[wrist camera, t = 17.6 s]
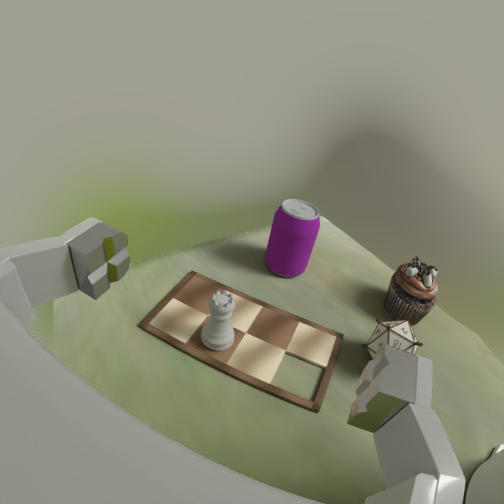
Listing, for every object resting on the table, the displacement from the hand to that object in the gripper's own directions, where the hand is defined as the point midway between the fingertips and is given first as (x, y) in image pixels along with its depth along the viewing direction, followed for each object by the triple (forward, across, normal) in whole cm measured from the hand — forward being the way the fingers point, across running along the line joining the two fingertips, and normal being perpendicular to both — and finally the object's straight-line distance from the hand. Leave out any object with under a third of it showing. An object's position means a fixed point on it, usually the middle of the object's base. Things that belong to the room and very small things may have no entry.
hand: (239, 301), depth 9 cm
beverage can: (+39, +5, +28) cm, 49 cm away
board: (+21, +5, +28) cm, 35 cm away
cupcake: (+40, -18, +28) cm, 52 cm away
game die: (+26, -15, +28) cm, 41 cm away
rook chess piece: (+18, +8, +28) cm, 34 cm away
